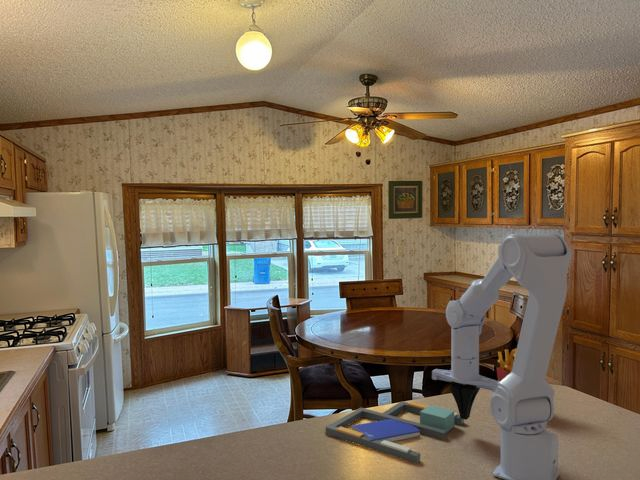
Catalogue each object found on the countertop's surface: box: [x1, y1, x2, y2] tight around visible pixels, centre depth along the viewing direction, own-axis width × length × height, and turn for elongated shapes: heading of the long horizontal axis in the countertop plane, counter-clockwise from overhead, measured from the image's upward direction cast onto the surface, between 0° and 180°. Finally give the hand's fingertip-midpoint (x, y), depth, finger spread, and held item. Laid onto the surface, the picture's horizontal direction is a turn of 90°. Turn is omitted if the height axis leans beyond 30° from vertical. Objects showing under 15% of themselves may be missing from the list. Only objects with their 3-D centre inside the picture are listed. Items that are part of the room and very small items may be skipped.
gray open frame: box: [325, 407, 448, 464], centre depth 104 cm, size 22×14×2 cm, turn 52°
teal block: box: [419, 404, 455, 433], centre depth 108 cm, size 6×5×4 cm
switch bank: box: [382, 400, 465, 426], centre depth 111 cm, size 16×10×2 cm, turn 52°
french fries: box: [496, 347, 517, 381], centre depth 119 cm, size 9×8×15 cm
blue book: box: [350, 419, 421, 442], centre depth 105 cm, size 2×8×12 cm
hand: (464, 417), depth 104 cm, fingers closed
